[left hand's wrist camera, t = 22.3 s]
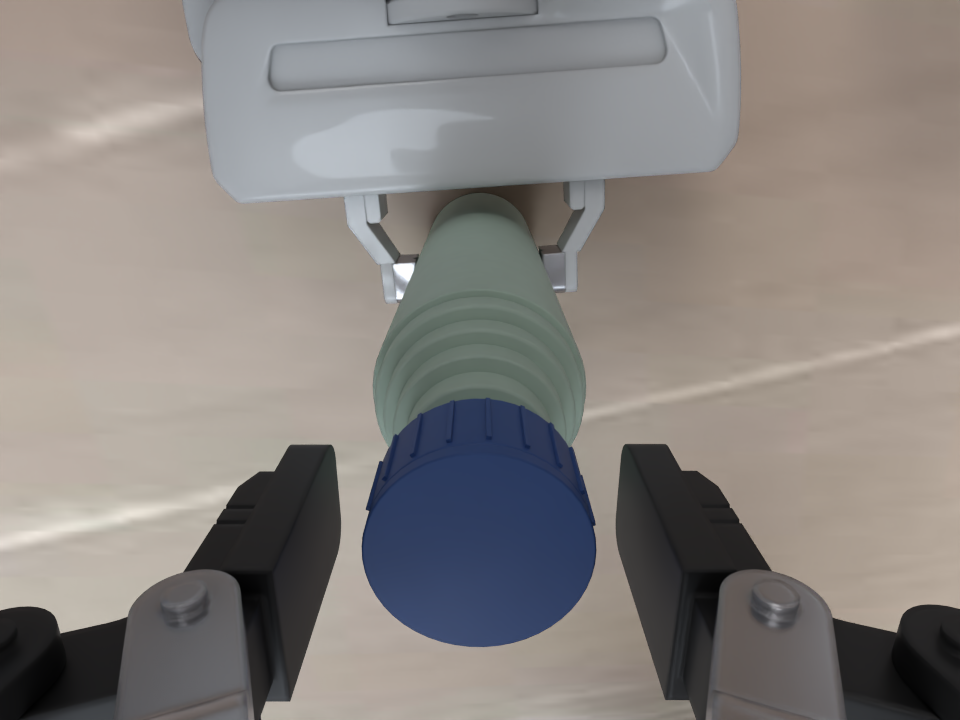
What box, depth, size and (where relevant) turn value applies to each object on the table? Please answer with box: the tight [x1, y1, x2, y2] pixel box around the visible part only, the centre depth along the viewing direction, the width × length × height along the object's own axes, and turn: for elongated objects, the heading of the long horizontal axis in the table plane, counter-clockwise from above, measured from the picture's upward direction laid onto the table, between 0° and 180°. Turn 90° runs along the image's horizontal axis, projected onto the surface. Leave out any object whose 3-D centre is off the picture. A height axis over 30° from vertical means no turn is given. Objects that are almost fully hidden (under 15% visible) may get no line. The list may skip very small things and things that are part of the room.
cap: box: [362, 398, 596, 647], centre depth 11 cm, size 4×4×2 cm
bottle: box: [373, 193, 586, 447], centre depth 23 cm, size 5×5×25 cm
